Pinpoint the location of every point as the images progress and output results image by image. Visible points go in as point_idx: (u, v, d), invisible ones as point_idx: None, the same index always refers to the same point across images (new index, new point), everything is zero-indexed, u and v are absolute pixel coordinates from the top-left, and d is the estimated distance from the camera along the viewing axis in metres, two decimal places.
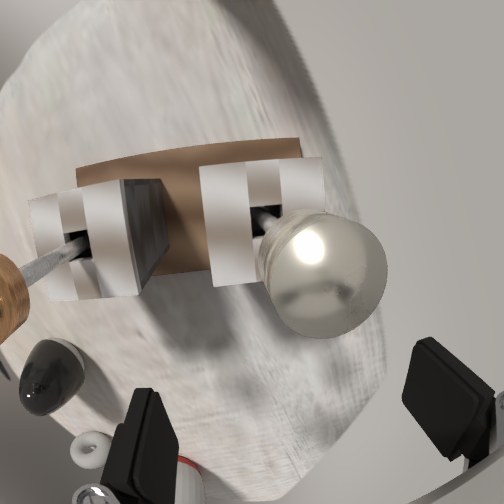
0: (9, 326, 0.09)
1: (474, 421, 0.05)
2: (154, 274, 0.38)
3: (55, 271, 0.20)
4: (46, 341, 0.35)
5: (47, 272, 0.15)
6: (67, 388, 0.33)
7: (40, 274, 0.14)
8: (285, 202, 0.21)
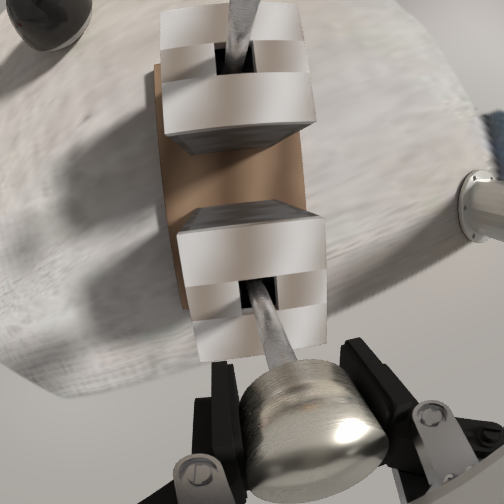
0: None
1: (391, 428, 0.06)
2: (159, 136, 0.30)
3: (202, 23, 0.14)
4: (90, 5, 0.21)
5: (234, 17, 0.09)
6: (32, 31, 0.18)
7: (241, 8, 0.08)
8: (280, 313, 0.19)
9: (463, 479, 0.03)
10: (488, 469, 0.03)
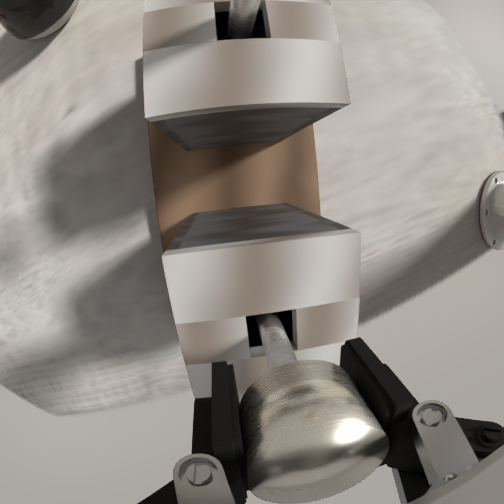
0: None
1: (391, 428, 0.06)
2: (150, 129, 0.25)
3: None
4: None
5: None
6: (12, 16, 0.13)
7: None
8: (300, 354, 0.14)
9: (463, 479, 0.03)
10: (488, 469, 0.03)
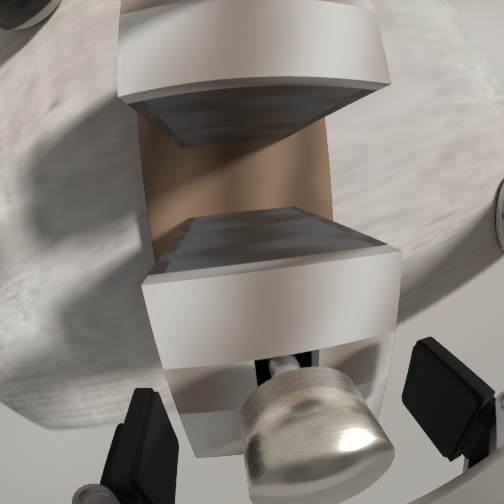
0: None
1: (474, 421, 0.05)
2: (140, 123, 0.22)
3: None
4: None
5: None
6: None
7: None
8: None
9: (463, 479, 0.03)
10: (488, 469, 0.03)
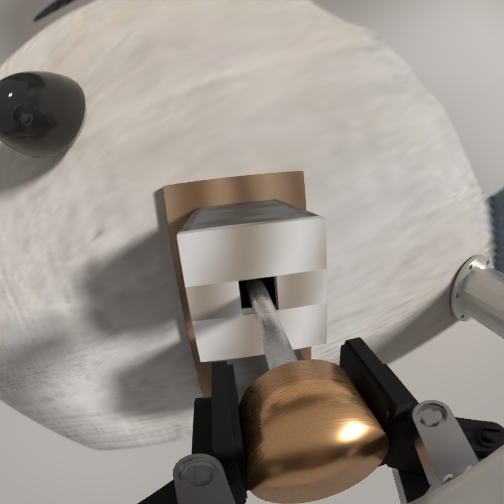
0: None
1: (391, 428, 0.06)
2: (175, 265, 0.34)
3: (224, 256, 0.18)
4: (83, 105, 0.25)
5: None
6: (24, 149, 0.21)
7: None
8: None
9: (463, 479, 0.03)
10: (488, 469, 0.03)
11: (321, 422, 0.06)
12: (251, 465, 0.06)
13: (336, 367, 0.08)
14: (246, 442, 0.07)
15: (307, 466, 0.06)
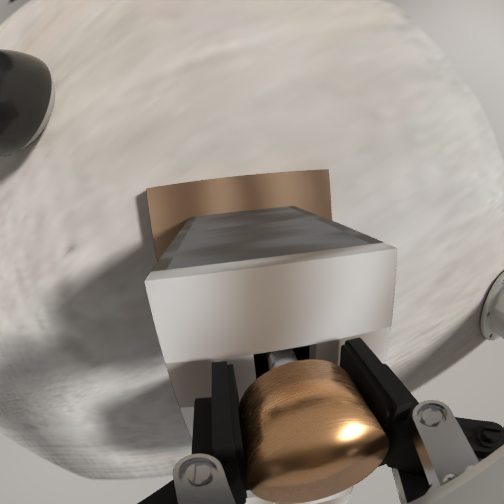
0: None
1: (391, 428, 0.06)
2: None
3: (230, 317, 0.10)
4: (48, 88, 0.18)
5: None
6: None
7: None
8: None
9: (463, 479, 0.03)
10: (488, 469, 0.03)
11: (320, 422, 0.06)
12: (251, 465, 0.06)
13: (336, 367, 0.08)
14: (246, 442, 0.07)
15: (307, 465, 0.06)
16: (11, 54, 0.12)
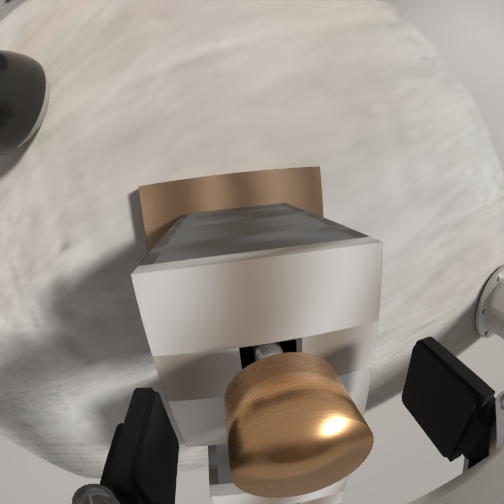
0: None
1: (474, 421, 0.05)
2: None
3: (215, 310, 0.10)
4: (42, 88, 0.17)
5: None
6: None
7: None
8: None
9: (463, 479, 0.03)
10: (488, 469, 0.03)
11: (300, 414, 0.06)
12: (232, 457, 0.06)
13: (320, 360, 0.09)
14: (229, 434, 0.07)
15: (289, 458, 0.06)
16: (6, 54, 0.12)
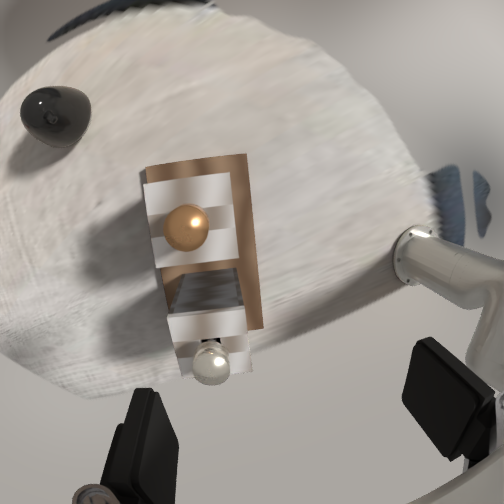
0: None
1: (474, 421, 0.05)
2: None
3: (170, 196, 0.29)
4: (89, 110, 0.37)
5: None
6: (48, 140, 0.33)
7: None
8: None
9: (463, 479, 0.03)
10: (488, 469, 0.03)
11: (182, 206, 0.25)
12: (164, 222, 0.25)
13: (199, 206, 0.27)
14: None
15: (180, 223, 0.25)
16: (69, 90, 0.31)
